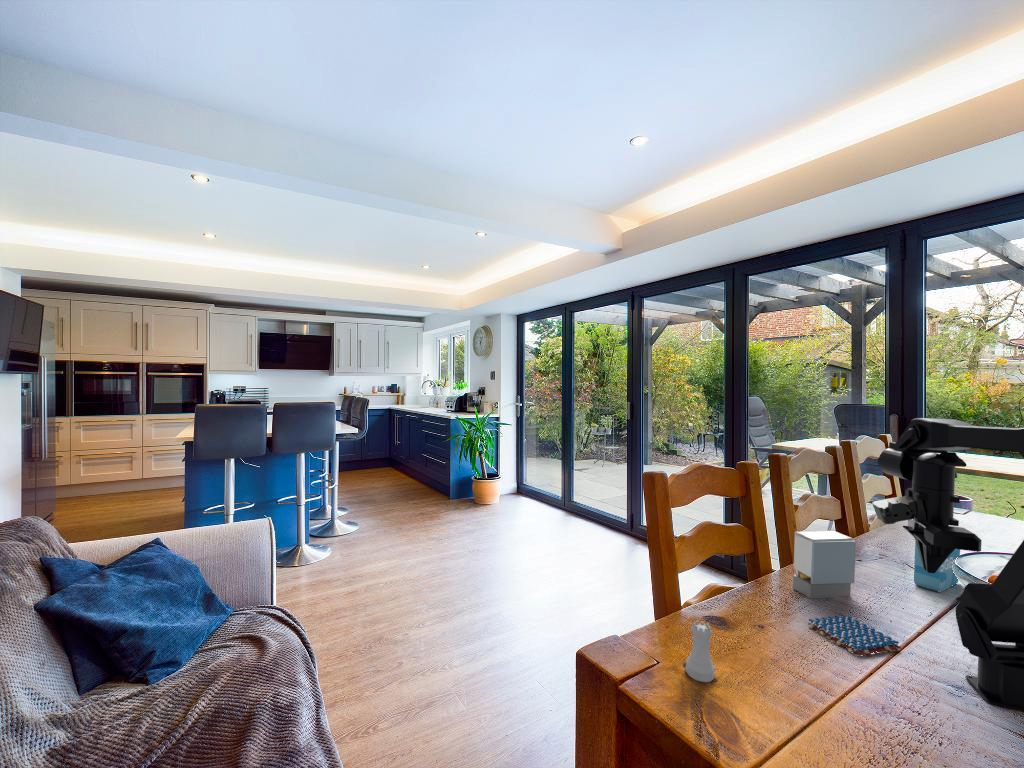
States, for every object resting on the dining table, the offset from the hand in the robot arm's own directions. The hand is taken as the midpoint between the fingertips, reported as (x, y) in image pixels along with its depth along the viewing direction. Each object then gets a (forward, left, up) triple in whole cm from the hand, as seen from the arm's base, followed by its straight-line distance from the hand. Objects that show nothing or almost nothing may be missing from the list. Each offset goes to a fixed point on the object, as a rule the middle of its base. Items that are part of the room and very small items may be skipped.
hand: (929, 571), depth 84 cm
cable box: (+15, +13, -13) cm, 24 cm away
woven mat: (-4, +12, -14) cm, 19 cm away
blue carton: (+32, -14, -13) cm, 37 cm away
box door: (+13, +11, -10) cm, 20 cm away
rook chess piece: (-27, +39, -13) cm, 49 cm away
